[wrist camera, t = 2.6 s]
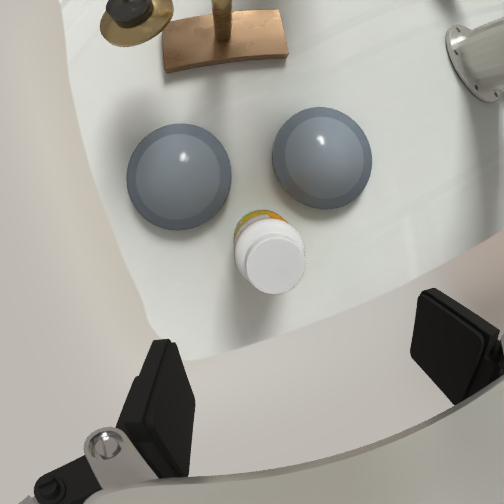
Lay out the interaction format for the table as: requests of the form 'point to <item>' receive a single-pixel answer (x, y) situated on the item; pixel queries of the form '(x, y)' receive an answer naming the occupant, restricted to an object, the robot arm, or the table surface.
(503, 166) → the table surface
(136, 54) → the table surface
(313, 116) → the dish high side
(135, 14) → the balance
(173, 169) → the dish low side
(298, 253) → the supplement bottle
